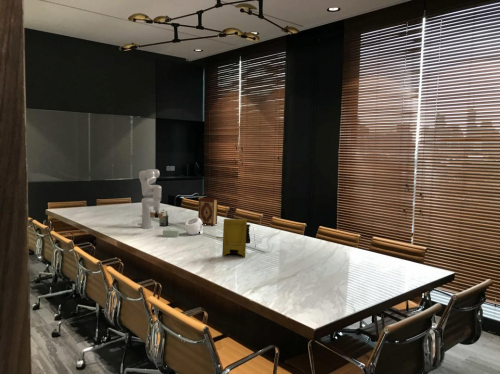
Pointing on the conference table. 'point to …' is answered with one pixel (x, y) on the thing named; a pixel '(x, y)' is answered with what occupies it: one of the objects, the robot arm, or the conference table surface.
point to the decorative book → (208, 210)
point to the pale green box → (170, 232)
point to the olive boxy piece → (235, 236)
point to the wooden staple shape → (152, 215)
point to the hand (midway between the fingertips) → (156, 217)
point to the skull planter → (194, 226)
